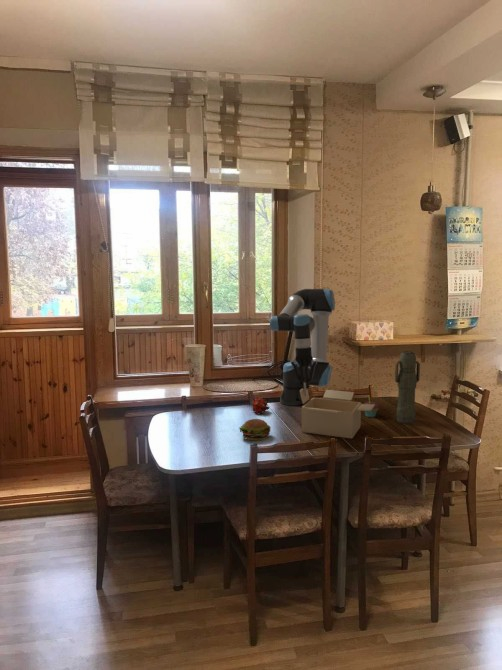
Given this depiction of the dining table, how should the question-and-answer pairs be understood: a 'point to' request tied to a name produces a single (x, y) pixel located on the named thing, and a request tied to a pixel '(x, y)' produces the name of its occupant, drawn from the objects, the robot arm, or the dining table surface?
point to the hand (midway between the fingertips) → (306, 395)
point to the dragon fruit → (259, 405)
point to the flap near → (324, 410)
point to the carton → (331, 418)
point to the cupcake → (374, 410)
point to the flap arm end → (304, 398)
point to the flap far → (338, 395)
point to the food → (255, 429)
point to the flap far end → (365, 407)
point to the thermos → (406, 386)
